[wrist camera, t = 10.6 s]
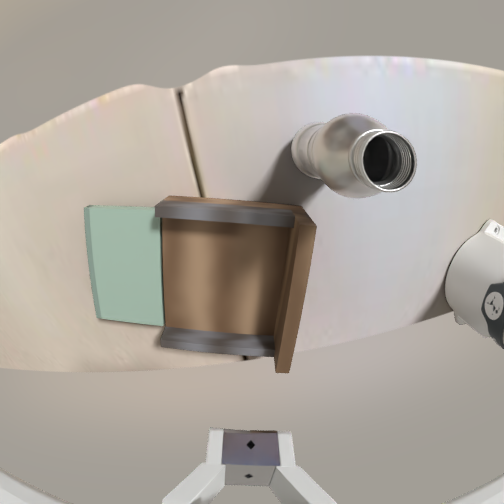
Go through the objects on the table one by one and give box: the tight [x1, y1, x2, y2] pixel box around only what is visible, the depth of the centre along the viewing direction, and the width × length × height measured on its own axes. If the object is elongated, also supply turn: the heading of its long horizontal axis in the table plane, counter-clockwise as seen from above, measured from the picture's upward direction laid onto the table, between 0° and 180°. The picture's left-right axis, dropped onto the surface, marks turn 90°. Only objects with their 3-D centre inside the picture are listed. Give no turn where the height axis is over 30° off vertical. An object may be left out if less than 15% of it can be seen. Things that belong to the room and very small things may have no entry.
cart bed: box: [155, 196, 317, 373], centre depth 35 cm, size 16×18×9 cm
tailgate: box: [84, 205, 165, 326], centre depth 36 cm, size 2×16×10 cm
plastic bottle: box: [291, 113, 417, 198], centre depth 24 cm, size 6×7×20 cm
